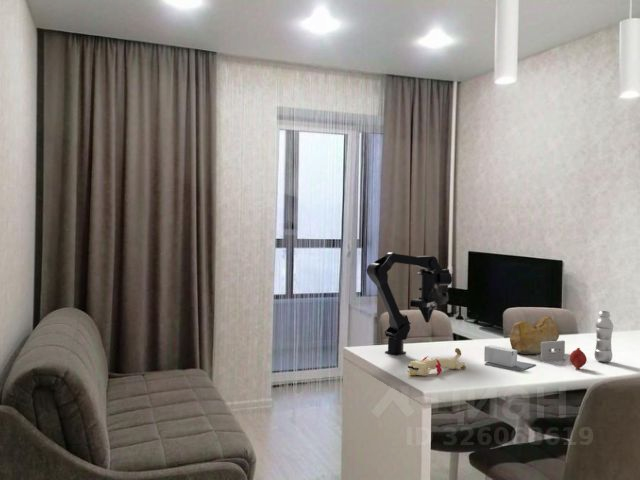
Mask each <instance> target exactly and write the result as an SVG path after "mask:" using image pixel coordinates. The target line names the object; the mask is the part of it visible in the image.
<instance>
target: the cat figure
mask: <svg viewBox="0 0 640 480" xmlns="http://www.w3.org/2000/svg"><path fill="white" fill-rule="evenodd" d="M454 352H455V353H456V355H455V356H454V357H453V358H430V359H428V358H429V356H428V355H427V356H425V357H424V358H423V359H421V360H420V361H419V360H412V361H411V360H410V362H409V364H408V365H407V368H408V370H406V372H407V373H408V375H410V376H416V375H417V376H427V375H428V374H431V373H430V372H431V371H432V370H435V369H436V376H439V375H441V372H443V370H442V369H451V370H459V369H460V370H461V371H464V370H466V369H467V366H466V362H464V361H463V362H460V363H459V361H458V359H459V358H460V357H461V356H462V351H461V349H460V348H458V347H457V348H455V349H454ZM407 368H406V369H407Z"/></svg>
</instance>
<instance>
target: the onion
mask: <svg viewBox="0 0 640 480" xmlns="http://www.w3.org/2000/svg"><path fill="white" fill-rule="evenodd" d="M569 362H570V364H572V366H573V367H575V369H577V370H578V369H579V370H580V369H581V368H582V367H584V366H585V365H586V363H587V356H586V354H585V353H584V352H583V351H582V350H581V347H576V349H574V350H573V351H572V352H571V353H570V354H569Z"/></svg>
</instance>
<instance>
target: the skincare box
mask: <svg viewBox="0 0 640 480" xmlns="http://www.w3.org/2000/svg"><path fill="white" fill-rule="evenodd" d="M483 355H484V357H483V358H484V362H486V363H488V362H490V363H494V364H499V365H503V366H508V367H513V366H517V361H518V353H517V350H514V349H512V348H509V347H508V348H507V347H503V346H502V347H501V346H497V345H492V344H489V345H484V353H483Z"/></svg>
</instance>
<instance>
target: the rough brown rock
mask: <svg viewBox="0 0 640 480" xmlns="http://www.w3.org/2000/svg"><path fill="white" fill-rule="evenodd" d="M559 337H560V334H559V329H558V325H557V323H556V322H555V321H553V319H552V317H551V316H549V315H548V316H544V317H541V318H539V319H537V321H535V323H534V324H531V323H529V322H528V321H518V322H515V323H514V324H513V327H512V329H511V332H510V334H509V342H510V347H511V349H514V350H517V354H521V355H532V354H533V355H537V354H541V342H549V341H559Z"/></svg>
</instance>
